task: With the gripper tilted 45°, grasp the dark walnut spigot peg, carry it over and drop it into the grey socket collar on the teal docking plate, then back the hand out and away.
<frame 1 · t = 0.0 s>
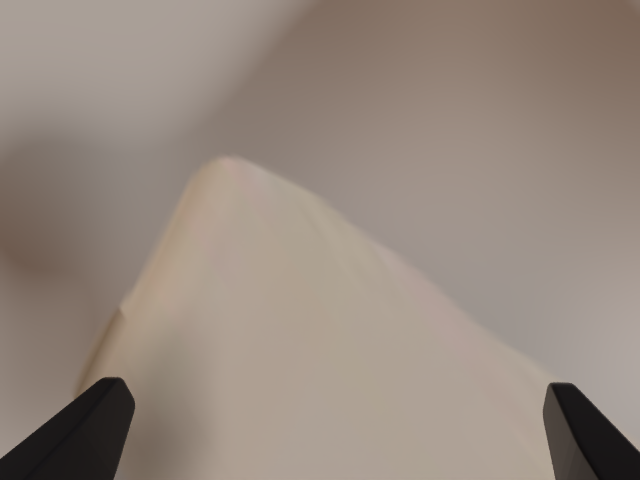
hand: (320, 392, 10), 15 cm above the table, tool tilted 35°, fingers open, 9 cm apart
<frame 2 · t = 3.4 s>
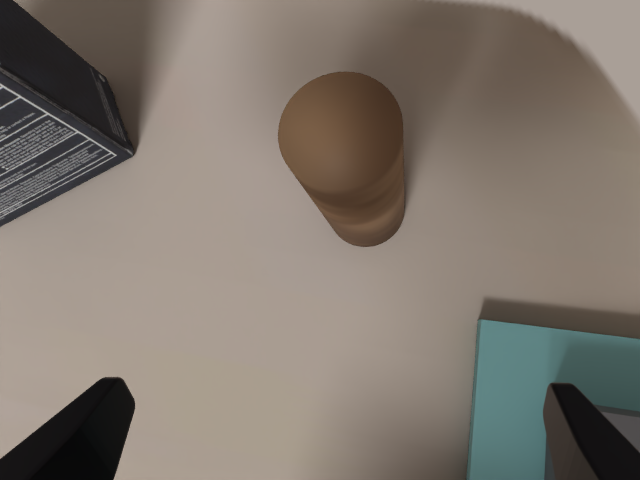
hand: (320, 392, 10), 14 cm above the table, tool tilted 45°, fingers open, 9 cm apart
small box: (51, 153, 29), on the table
spigot peg: (365, 209, 24), on the table
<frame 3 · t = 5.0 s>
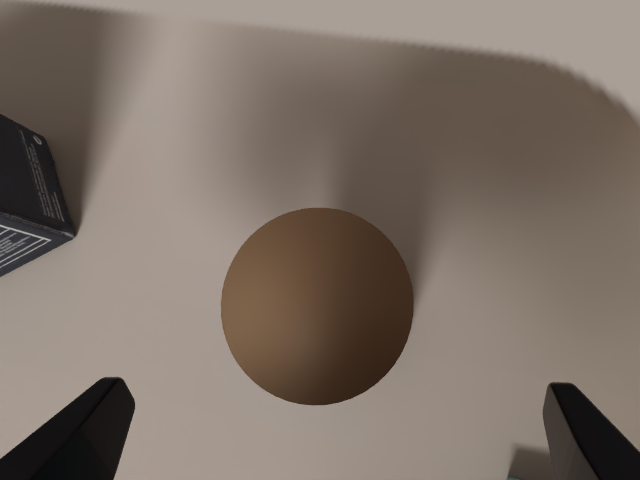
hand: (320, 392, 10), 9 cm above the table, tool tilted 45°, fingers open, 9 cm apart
spigot peg: (360, 318, 19), on the table
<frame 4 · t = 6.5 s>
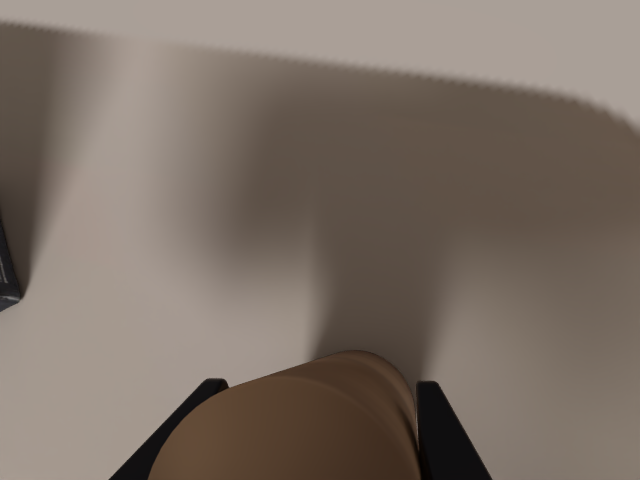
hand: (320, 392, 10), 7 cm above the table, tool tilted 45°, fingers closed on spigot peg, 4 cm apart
spigot peg: (355, 410, 16), on the table, touching gripper
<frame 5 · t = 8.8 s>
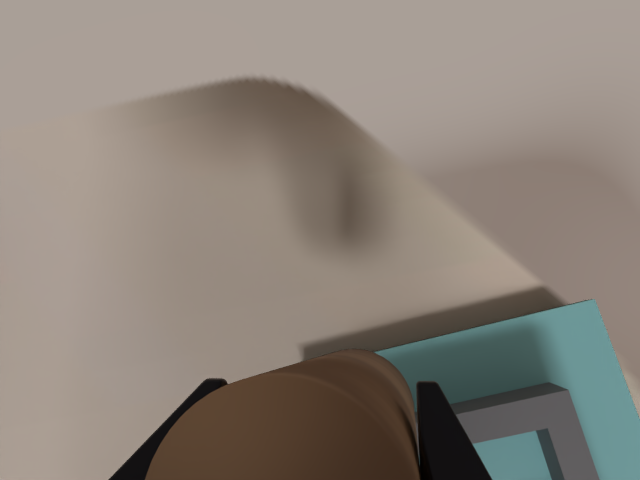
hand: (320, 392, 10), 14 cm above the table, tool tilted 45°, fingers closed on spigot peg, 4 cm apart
spigot peg: (354, 408, 16), point 7 cm above the table, touching gripper
when the fingers open (9 cm above the table, at t = 11.3 s): spigot peg drops 1 cm, resting on docking socket.
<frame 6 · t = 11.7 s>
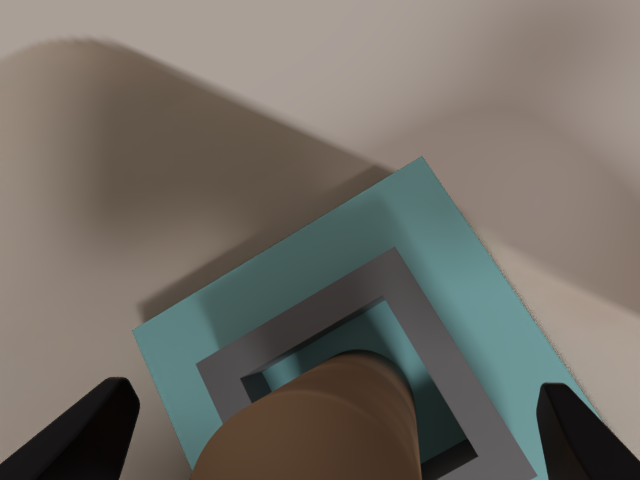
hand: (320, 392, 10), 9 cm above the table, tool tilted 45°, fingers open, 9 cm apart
docking socket: (362, 399, 18), on the table
spigot peg: (359, 404, 17), point 1 cm above the table, touching docking socket
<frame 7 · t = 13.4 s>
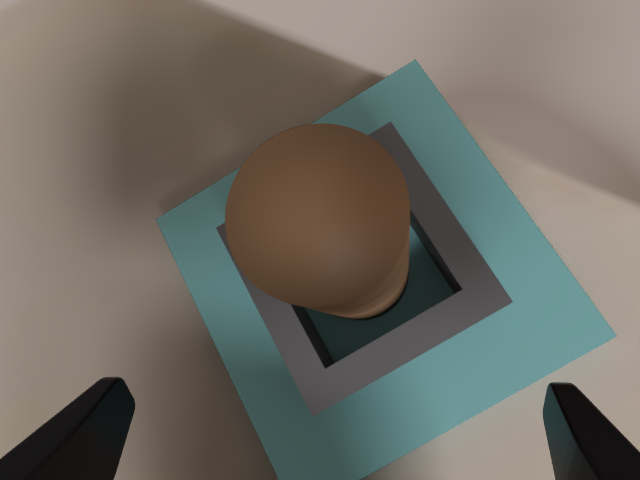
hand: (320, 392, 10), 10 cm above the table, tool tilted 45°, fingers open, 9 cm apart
docking socket: (362, 273, 20), on the table
spigot peg: (360, 271, 19), point 1 cm above the table, touching docking socket
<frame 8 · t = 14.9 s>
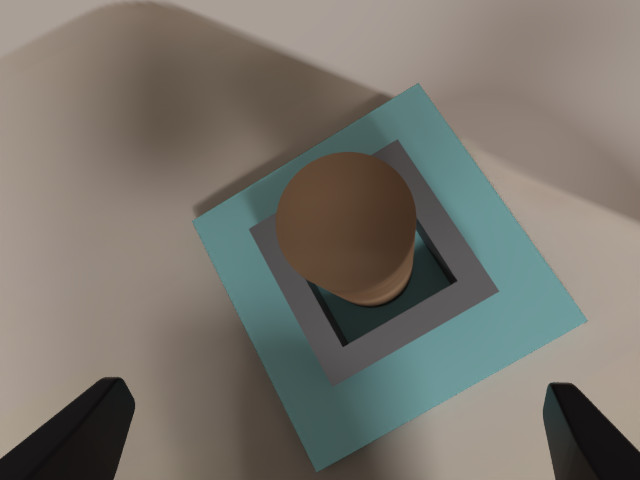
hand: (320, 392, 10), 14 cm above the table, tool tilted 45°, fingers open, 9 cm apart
docking socket: (372, 268, 24), on the table
spigot peg: (370, 266, 23), point 1 cm above the table, touching docking socket
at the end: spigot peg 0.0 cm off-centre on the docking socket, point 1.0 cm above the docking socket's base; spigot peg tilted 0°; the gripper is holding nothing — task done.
